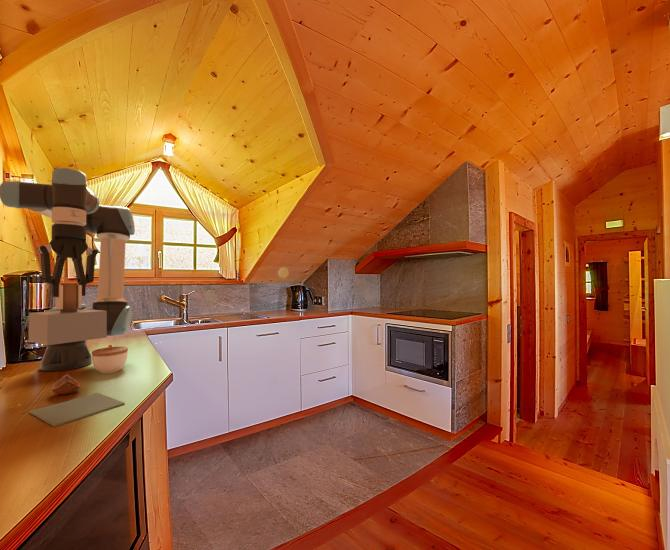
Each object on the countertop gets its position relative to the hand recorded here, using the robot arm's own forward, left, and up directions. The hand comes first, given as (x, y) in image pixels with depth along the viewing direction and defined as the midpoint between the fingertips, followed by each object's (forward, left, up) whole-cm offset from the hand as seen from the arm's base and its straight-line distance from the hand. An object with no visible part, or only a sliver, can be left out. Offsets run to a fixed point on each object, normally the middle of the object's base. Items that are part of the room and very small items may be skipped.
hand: (68, 308), depth 90 cm
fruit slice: (-1, -6, -26) cm, 26 cm away
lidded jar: (-19, -20, -26) cm, 38 cm away
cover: (0, 0, -9) cm, 9 cm away
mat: (+2, +10, -25) cm, 27 cm away
